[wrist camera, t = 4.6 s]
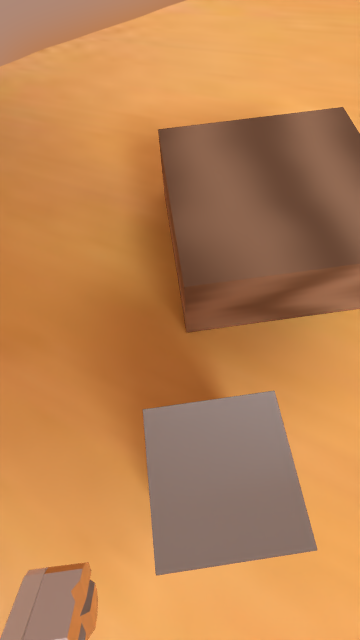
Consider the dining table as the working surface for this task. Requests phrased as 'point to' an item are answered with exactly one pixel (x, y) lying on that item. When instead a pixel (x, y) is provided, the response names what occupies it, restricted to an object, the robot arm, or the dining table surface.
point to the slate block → (223, 484)
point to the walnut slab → (264, 217)
